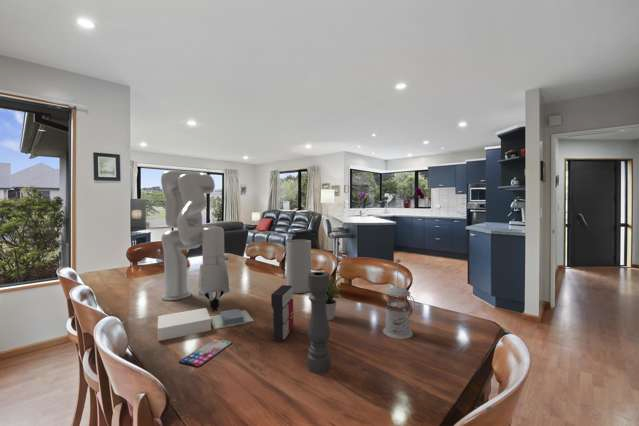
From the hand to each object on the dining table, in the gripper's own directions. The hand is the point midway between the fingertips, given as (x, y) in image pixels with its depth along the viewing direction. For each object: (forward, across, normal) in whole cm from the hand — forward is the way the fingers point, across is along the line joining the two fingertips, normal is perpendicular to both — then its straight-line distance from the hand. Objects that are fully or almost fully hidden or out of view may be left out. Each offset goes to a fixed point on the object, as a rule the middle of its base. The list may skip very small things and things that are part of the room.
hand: (214, 309), depth 105 cm
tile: (+2, -6, +1) cm, 6 cm away
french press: (+5, -54, +39) cm, 67 cm away
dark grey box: (+5, -19, +21) cm, 29 cm away
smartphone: (+5, +5, +21) cm, 22 cm away
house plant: (+5, -40, +17) cm, 44 cm away
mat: (+5, -6, 0) cm, 8 cm away
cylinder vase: (+5, -44, -21) cm, 49 cm away
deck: (+5, +10, 0) cm, 11 cm away
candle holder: (+5, -20, +44) cm, 49 cm away
